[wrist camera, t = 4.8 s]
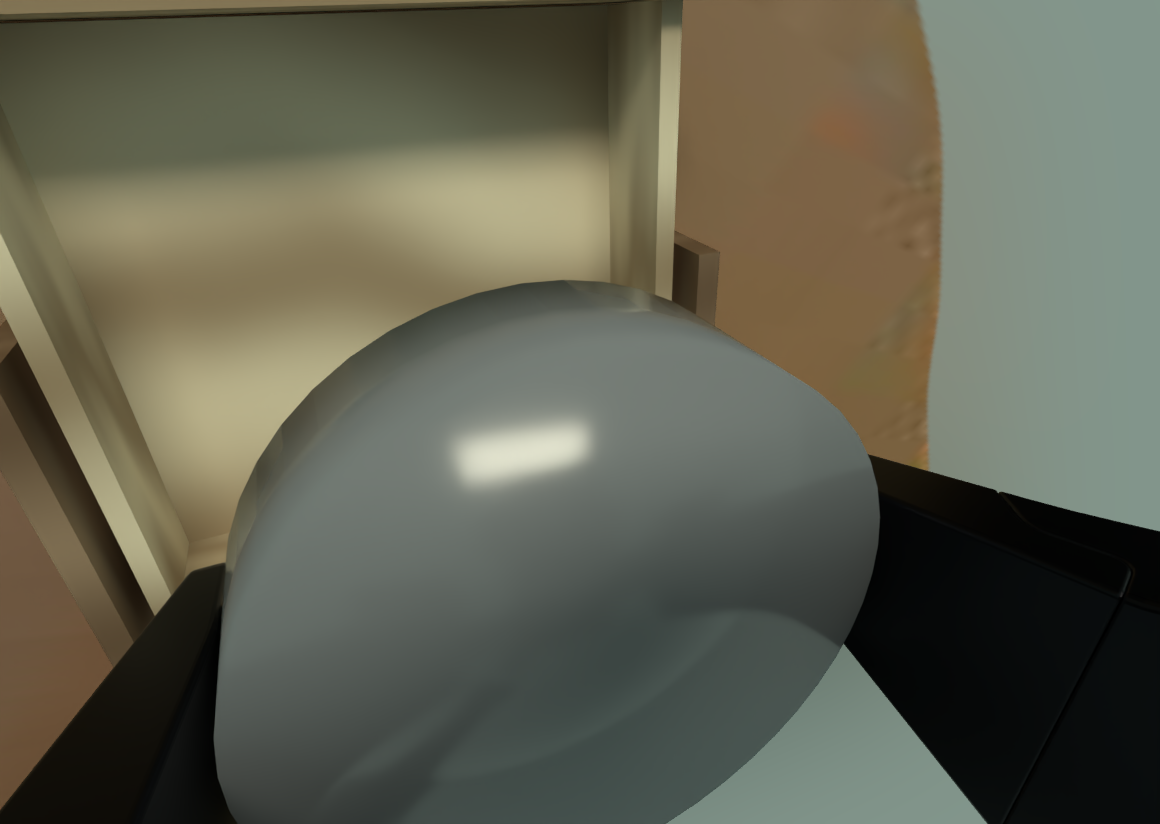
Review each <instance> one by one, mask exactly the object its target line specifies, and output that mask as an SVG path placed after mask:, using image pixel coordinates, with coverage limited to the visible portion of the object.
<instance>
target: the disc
mask: <svg viewBox="0 0 1160 824" xmlns="http://www.w3.org/2000/svg"><path fill="white" fill-rule="evenodd" d="M879 524H880V510H879V498H878V487H877V484H876V480H875V476H874V472H873V468H872V465H871V461H870V459H869V457H868V454H867V452H866V450H865V448H864V446H863V444H862V442H861V440H860V438H859V436H858V434H857V433H856V431H855V430H854V429H853V427H852V426H851V425H850V424H849V422H848V421H847V420H846V418H845V417H844V416H843V414H842V413H841V412H840V411H839V410H838V409H837V408H836V407H835V406H833V405H832V404H831V403H830V402H829V401H828V400H827V399H825V398H824V397H823V396H822V395H821V394H820V393H818V392H817V391H816V390H815V389H813V388H811V387H810V386H808V385H807V384H805V383H804V382H802V381H800V380H799V379H797V378H796V377H794V376H792V375H791V374H789V373H788V372H786V371H785V370H783V369H781V368H780V367H778V366H777V365H775V364H774V363H772V362H770V361H769V360H767V359H766V358H764V357H763V356H761V355H759V354H758V353H756V352H755V351H753V350H752V349H750V348H748V347H747V346H745V345H744V344H742V343H740V342H739V341H737V340H736V339H734V338H733V337H731V336H729V335H728V334H726V333H725V332H723V331H722V330H720V329H718V328H717V327H715V326H714V325H712V324H711V323H709V322H707V321H706V320H704V319H703V318H701V317H699V316H698V315H696V314H694V313H692V312H691V311H689V310H687V309H685V308H684V307H682V306H680V305H678V304H677V303H675V302H673V301H671V300H668V299H665V298H663V297H660V296H657V295H655V294H652V293H649V292H646V291H644V290H641V289H637V288H632V287H627V286H622V285H617V284H612V283H607V282H598V281H579V280H555V281H543V282H531V283H520V284H516V285H511V286H507V287H502V288H498V289H493V290H489V291H484V292H480V293H476V294H473V295H470V296H467V297H465V298H462V299H459V300H456V301H453V302H451V303H448V304H445V305H442V306H439V307H437V308H434V309H431V310H429V311H427V312H425V313H423V314H421V315H419V316H417V317H415V318H414V319H412V320H410V321H408V322H406V323H404V324H402V325H400V326H398V327H396V328H394V329H392V330H390V331H388V332H387V333H385V334H384V335H382V336H381V337H379V338H378V339H376V340H375V341H373V342H372V343H370V344H369V345H367V346H366V347H364V348H363V349H361V350H360V351H358V352H357V353H355V354H354V355H352V356H351V357H349V358H348V359H347V360H346V361H345V362H343V363H342V364H341V365H340V366H339V367H338V368H336V369H335V370H334V371H333V372H332V373H331V374H330V375H328V376H327V377H326V378H325V379H324V380H323V381H322V382H320V383H319V384H318V385H317V386H316V387H315V388H313V389H312V390H311V392H310V393H309V394H308V395H307V396H306V397H305V398H304V400H303V401H302V402H301V403H300V404H299V405H298V406H297V407H296V409H295V410H294V411H293V412H292V413H291V414H290V415H289V416H288V418H287V419H286V420H285V421H284V422H283V423H282V424H281V426H280V427H279V429H278V430H277V432H276V433H275V435H274V436H273V438H272V439H271V441H270V442H269V444H268V445H267V447H266V448H265V450H264V451H263V453H262V454H261V456H260V458H259V459H258V461H257V462H256V464H255V466H254V469H253V471H252V473H251V475H250V477H249V479H248V481H247V484H246V486H245V488H244V490H243V492H242V494H241V496H240V498H239V501H238V505H237V508H236V512H235V515H234V519H233V522H232V526H231V529H230V533H229V536H228V543H227V553H226V562H225V572H224V586H223V602H222V617H221V633H220V648H219V664H218V679H217V695H216V710H215V726H214V747H215V757H216V766H217V776H218V780H219V783H220V785H221V788H222V791H223V794H224V797H225V800H226V803H227V805H228V808H229V811H230V813H231V814H232V816H233V817H234V819H235V820H236V822H237V823H238V824H666V823H668V822H669V821H671V820H672V819H674V818H675V817H677V816H678V815H680V814H681V813H683V812H684V811H686V810H687V809H689V808H690V807H692V806H693V805H694V804H696V803H697V802H699V801H700V800H701V799H703V798H704V797H705V796H707V795H708V794H709V793H710V792H712V791H713V790H714V789H716V788H717V787H718V786H720V785H721V784H722V783H724V782H725V781H726V780H727V779H728V778H730V777H731V776H732V775H733V774H734V773H735V772H737V771H738V770H739V769H740V768H741V767H742V766H743V765H745V764H746V763H747V762H748V761H749V760H750V759H752V757H753V756H755V755H756V754H757V753H758V751H760V750H761V749H762V748H763V747H764V746H765V745H766V744H767V743H768V742H769V741H770V740H771V739H772V738H773V737H774V736H775V735H776V734H777V733H778V732H779V731H780V729H781V728H782V727H783V726H784V725H785V724H786V723H787V722H788V721H789V719H790V718H791V717H792V716H793V715H794V714H795V713H796V712H797V710H798V709H799V708H800V706H801V705H802V704H803V703H804V701H805V700H806V699H807V697H808V696H809V695H810V694H811V692H812V691H813V690H814V689H815V687H816V686H817V685H818V683H819V682H820V680H821V679H822V677H823V676H824V674H825V673H826V671H827V670H828V668H829V666H830V665H831V664H832V662H833V661H834V659H835V658H836V656H837V654H838V652H839V650H840V649H841V647H842V645H843V643H844V641H845V640H846V638H847V636H848V634H849V632H850V631H851V628H852V626H853V624H854V622H855V619H856V617H857V615H858V613H859V610H860V608H861V606H862V603H863V601H864V598H865V595H866V592H867V588H868V585H869V582H870V579H871V576H872V573H873V568H874V563H875V558H876V553H877V548H878V539H879Z"/></svg>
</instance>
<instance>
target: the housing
mask: <svg viewBox="0 0 1160 824" xmlns="http://www.w3.org/2000/svg"><path fill="white" fill-rule="evenodd" d="M719 257H720V252H719V251H717V250H715V249H713V248H710V247H708V246H706V245H704V244H702V243H700V242H698V241H696V240H693V239H691V238H689V237H687V236H685V235H683V234H681V233H678V232H676V231H674V252H673V279H672V301H673V302H675V303H677V304H678V305H680V306H682V307H684V308H685V309H687V310H689V311H691V312H692V313H694V314H696V315H698V316H699V317H701V318H703V319H704V320H706V321H707V322H709V323H711V324H712V325H714V326H715V312H716V298H717V285H718V271H719ZM0 471H1V472H2V474H3V476H4V478H5V479H6V481H7V483H8V484H9V486H10V488H11V490H12V491H13V493H14V495H15V497H16V498H17V500H18V502H19V504H20V505H21V507H22V509H23V511H24V512H25V514H26V516H27V518H28V519H29V521H30V523H31V525H32V526H33V528H34V530H35V531H36V533H37V535H38V537H39V538H40V540H41V542H42V544H43V545H44V547H45V549H46V551H47V552H48V554H49V556H50V558H51V559H52V561H53V563H54V565H55V566H56V568H57V570H58V571H59V573H60V575H61V577H62V578H63V580H64V582H65V584H66V585H67V587H68V589H69V591H70V592H71V594H72V596H73V598H74V599H75V601H76V603H77V605H78V606H79V608H80V610H81V612H82V613H83V615H84V617H85V618H86V620H87V622H88V624H89V625H90V627H91V629H92V631H93V632H94V634H95V636H96V638H97V639H98V641H99V643H100V645H101V646H102V648H103V650H104V652H105V653H106V655H107V657H108V659H109V660H110V662H111V664H112V665H113V667H115V665H116V664H117V663H118V662H119V660H120V659H121V658H122V657H123V655H124V654H125V653H126V652H127V650H128V649H129V648H130V647H131V645H132V644H133V643H134V642H135V640H136V639H137V638H138V637H139V635H140V634H141V633H142V632H143V630H144V629H145V628H146V626H147V625H148V624H149V623H150V621H151V620H152V619H153V618H154V616H155V615H154V613H153V611H152V609H151V607H150V605H149V603H148V601H147V599H146V597H145V595H144V593H143V591H142V589H141V587H140V585H139V583H138V581H137V579H136V577H135V575H134V573H133V571H132V569H131V567H130V565H129V563H128V561H127V559H126V557H125V555H124V553H123V551H122V549H121V547H120V545H119V543H118V541H117V539H116V537H115V535H114V533H113V531H112V529H111V527H110V525H109V523H108V521H107V519H106V517H105V515H104V513H103V511H102V509H101V507H100V505H99V503H98V501H97V499H96V497H95V495H94V493H93V491H92V489H91V487H90V485H89V483H88V481H87V479H86V477H85V475H84V473H83V471H82V469H81V467H80V465H79V463H78V461H77V459H76V457H75V455H74V453H73V451H72V449H71V447H70V445H69V443H68V441H67V439H66V437H65V435H64V433H63V431H62V429H61V427H60V425H59V423H58V421H57V419H56V417H55V415H54V413H53V411H52V409H51V407H50V405H49V403H48V401H47V399H46V397H45V395H44V393H43V391H42V389H41V387H40V385H39V383H38V381H37V379H36V377H35V375H34V373H33V371H32V369H31V367H30V365H29V363H28V361H27V359H26V357H25V355H24V353H23V351H22V349H21V347H20V345H19V343H18V341H17V339H16V337H15V335H14V333H13V331H12V329H11V327H10V325H9V323H8V321H7V319H6V321H5V322H4V323H3V324H2V325H1V326H0Z"/></svg>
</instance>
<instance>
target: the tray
mask: <svg viewBox="0 0 1160 824" xmlns="http://www.w3.org/2000/svg"><path fill="white" fill-rule="evenodd" d="M632 2H636V3H632ZM598 3H625V4H614V5H593V6H560V7H528V8H495V9H462V10H430V11H397V12H364V13H332V14H299V15H266V16H233V17H201V18H168V19H135V20H103V21H70V22H37V23H5V24H0V307H1V309H2V311H3V313H4V315H5V317H6V319H7V321H8V323H9V325H10V327H11V329H12V331H13V333H14V335H15V337H16V339H17V341H18V343H19V345H20V347H21V349H22V351H23V353H24V355H25V357H26V359H27V361H28V363H29V365H30V367H31V369H32V371H33V373H34V375H35V377H36V379H37V381H38V383H39V385H40V387H41V389H42V391H43V393H44V395H45V397H46V399H47V401H48V403H49V405H50V407H51V409H52V411H53V413H54V415H55V417H56V419H57V421H58V423H59V425H60V427H61V429H62V431H63V433H64V435H65V437H66V439H67V441H68V443H69V445H70V447H71V449H72V451H73V453H74V455H75V457H76V459H77V461H78V463H79V465H80V467H81V469H82V471H83V473H84V475H85V477H86V479H87V481H88V483H89V485H90V487H91V489H92V491H93V493H94V495H95V497H96V499H97V501H98V503H99V505H100V507H101V509H102V511H103V513H104V515H105V517H106V519H107V521H108V523H109V525H110V527H111V529H112V531H113V533H114V535H115V537H116V539H117V541H118V543H119V545H120V547H121V549H122V551H123V553H124V555H125V557H126V559H127V561H128V563H129V565H130V567H131V569H132V571H133V573H134V575H135V577H136V579H137V581H138V583H139V585H140V587H141V589H142V591H143V593H144V595H145V597H146V599H147V601H148V603H149V605H150V607H151V609H152V611H153V613H154V615H156V614H157V613H158V611H159V610H160V609H161V608H162V606H163V605H164V604H165V603H166V601H167V600H168V599H169V598H170V596H171V595H172V594H173V593H174V591H175V590H176V589H177V588H178V586H179V585H180V584H181V583H182V581H183V580H184V579H185V578H186V576H187V575H188V574H189V573H190V572H191V571H193V570H196V569H199V568H203V567H207V566H211V565H214V564H218V563H222V562H226V553H227V543H228V536H229V533H230V529H231V526H232V522H233V519H234V515H235V512H236V508H237V505H238V501H239V498H240V496H241V494H242V492H243V490H244V488H245V486H246V484H247V481H248V479H249V477H250V475H251V473H252V471H253V469H254V466H255V464H256V462H257V461H258V459H259V458H260V456H261V454H262V453H263V451H264V450H265V448H266V447H267V445H268V444H269V442H270V441H271V439H272V438H273V436H274V435H275V433H276V432H277V430H278V429H279V427H280V426H281V424H282V423H283V422H284V421H285V420H286V419H287V418H288V416H289V415H290V414H291V413H292V412H293V411H294V410H295V409H296V407H297V406H298V405H299V404H300V403H301V402H302V401H303V400H304V398H305V397H306V396H307V395H308V394H309V393H310V392H311V390H312V389H313V388H315V387H316V386H317V385H318V384H319V383H320V382H322V381H323V380H324V379H325V378H326V377H327V376H328V375H330V374H331V373H332V372H333V371H334V370H335V369H336V368H338V367H339V366H340V365H341V364H342V363H343V362H345V361H346V360H347V359H348V358H349V357H351V356H352V355H354V354H355V353H357V352H358V351H360V350H361V349H363V348H364V347H366V346H367V345H369V344H370V343H372V342H373V341H375V340H376V339H378V338H379V337H381V336H382V335H384V334H385V333H387V332H388V331H390V330H392V329H394V328H396V327H398V326H400V325H402V324H404V323H406V322H408V321H410V320H412V319H414V318H415V317H417V316H419V315H421V314H423V313H425V312H427V311H429V310H431V309H434V308H437V307H439V306H442V305H445V304H448V303H451V302H453V301H456V300H459V299H462V298H465V297H467V296H470V295H473V294H476V293H480V292H484V291H489V290H493V289H498V288H502V287H507V286H511V285H516V284H520V283H531V282H543V281H555V280H579V281H598V282H607V283H612V284H617V285H622V286H627V287H632V288H637V289H641V290H644V291H646V292H649V293H652V294H655V295H657V296H660V297H663V298H665V299H668V300H671V301H672V279H673V252H674V225H675V198H676V171H677V144H678V116H679V89H680V62H681V35H682V8H683V0H0V21H25V20H59V19H92V18H126V17H160V16H194V15H227V14H261V13H295V12H328V11H362V10H396V9H430V8H463V7H497V6H531V5H565V4H598Z"/></svg>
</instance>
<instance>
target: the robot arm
mask: <svg viewBox="0 0 1160 824" xmlns="http://www.w3.org/2000/svg"><path fill="white" fill-rule="evenodd" d="M868 457H869V459H870V461H871V465H872V468H873V472H874V476H875V480H876V484H877V487H878V498H879V510H880V524H879V539H878V548H877V553H876V558H875V563H874V568H873V573H872V576H871V579H870V582H869V585H868V588H867V592H866V595H865V598H864V601H863V603H862V606H861V608H860V610H859V613H858V615H857V617H856V619H855V622H854V624H853V626H852V628H851V631H850V632H849V634H848V636H847V638H846V640H845V641H844V645H845V646H846V647H847V648H848V650H849V651H850V652H851V653H852V655H853V656H854V657H855V658H856V660H857V661H858V662H859V663H860V665H861V666H862V667H863V668H864V670H865V671H866V672H867V673H868V675H869V676H870V677H871V678H872V680H873V681H874V682H875V683H876V685H877V686H878V687H879V688H880V690H881V691H882V692H883V693H884V695H885V696H886V697H887V698H888V700H889V701H890V702H891V703H892V705H893V706H894V707H895V708H896V710H897V711H898V712H899V713H900V715H901V716H902V717H903V719H904V720H905V721H906V722H907V724H908V725H909V726H910V727H911V728H912V730H913V731H914V732H915V734H916V735H917V736H918V737H919V739H920V740H921V741H922V742H923V744H924V745H925V746H926V747H927V749H928V750H929V751H930V752H931V754H932V755H933V756H934V757H935V758H936V760H937V761H938V762H939V764H940V765H941V766H942V767H943V769H944V770H945V771H946V772H947V774H948V775H949V776H950V777H951V779H952V780H953V781H954V782H955V784H956V785H957V786H958V787H959V789H960V790H961V791H962V792H963V794H964V795H965V796H966V798H968V800H969V801H970V803H971V804H972V805H973V806H974V807H975V809H976V810H977V811H978V813H979V814H980V815H981V816H982V818H983V819H984V820H985V821H986V822H987V824H1160V531H1156V530H1151V529H1147V528H1143V527H1138V526H1134V525H1129V524H1125V523H1121V522H1117V521H1113V520H1108V519H1104V518H1100V517H1096V516H1092V515H1088V514H1084V513H1079V512H1075V511H1071V510H1067V509H1063V508H1060V507H1056V506H1052V505H1049V504H1044V503H1041V502H1037V501H1034V500H1030V499H1026V498H1023V497H1019V496H1016V495H1012V494H1008V493H1005V492H999V493H997V491H996V490H994V489H990V488H987V487H983V486H979V485H976V484H972V483H969V482H965V481H962V480H958V479H954V478H951V477H947V476H944V475H940V474H937V473H933V472H929V471H926V470H922V469H919V468H915V467H912V466H908V465H904V464H901V463H897V462H894V461H890V460H887V459H883V458H879V457H876V456H872V455H869V454H868ZM224 572H225V562H222V563H218V564H214V565H211V566H207V567H203V568H199V569H196V570H193V571H191V572H190V573H189V574H188V575H187V576H186V578H185V579H184V580H183V581H182V583H181V584H180V585H179V586H178V588H177V589H176V590H175V591H174V593H173V594H172V595H171V596H170V598H169V599H168V600H167V601H166V603H165V604H164V605H163V606H162V608H161V609H160V610H159V611H158V613H157V614H156V615H155V616H154V618H153V619H152V620H151V621H150V623H149V624H148V625H147V626H146V628H145V629H144V630H143V632H142V633H141V634H140V635H139V637H138V638H137V639H136V640H135V642H134V643H133V644H132V645H131V647H130V648H129V649H128V650H127V652H126V653H125V654H124V655H123V657H122V658H121V659H120V660H119V662H118V663H117V664H116V665H115V667H114V668H113V669H112V670H111V672H110V673H109V674H108V675H107V677H106V678H105V679H104V680H103V682H102V683H101V684H100V685H99V687H98V688H97V689H96V690H95V692H94V693H93V694H92V696H91V697H90V698H89V699H88V701H87V702H86V703H85V704H84V706H83V707H82V708H81V709H80V711H79V712H78V713H77V714H76V716H75V717H74V718H73V719H72V721H71V722H70V723H69V724H68V726H67V727H66V728H65V729H64V731H63V732H62V733H61V734H60V736H59V737H58V738H57V739H56V741H55V742H54V743H53V744H52V746H51V747H50V748H49V749H48V751H47V752H46V753H45V755H44V756H43V757H42V758H41V760H40V761H39V762H38V763H37V765H36V766H35V767H34V768H33V770H32V771H31V772H30V773H29V775H28V776H27V777H26V778H25V780H24V781H23V782H22V783H21V785H20V786H19V787H18V788H17V790H16V791H15V792H14V793H13V795H12V796H11V797H10V798H9V800H8V801H7V802H6V803H5V805H4V806H3V807H2V808H1V810H0V824H238V823H237V822H236V820H235V819H234V817H233V816H232V814H231V813H230V811H229V808H228V805H227V803H226V800H225V797H224V794H223V791H222V788H221V785H220V783H219V780H218V776H217V766H216V757H215V747H214V726H215V710H216V695H217V679H218V664H219V648H220V633H221V617H222V602H223V586H224Z"/></svg>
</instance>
